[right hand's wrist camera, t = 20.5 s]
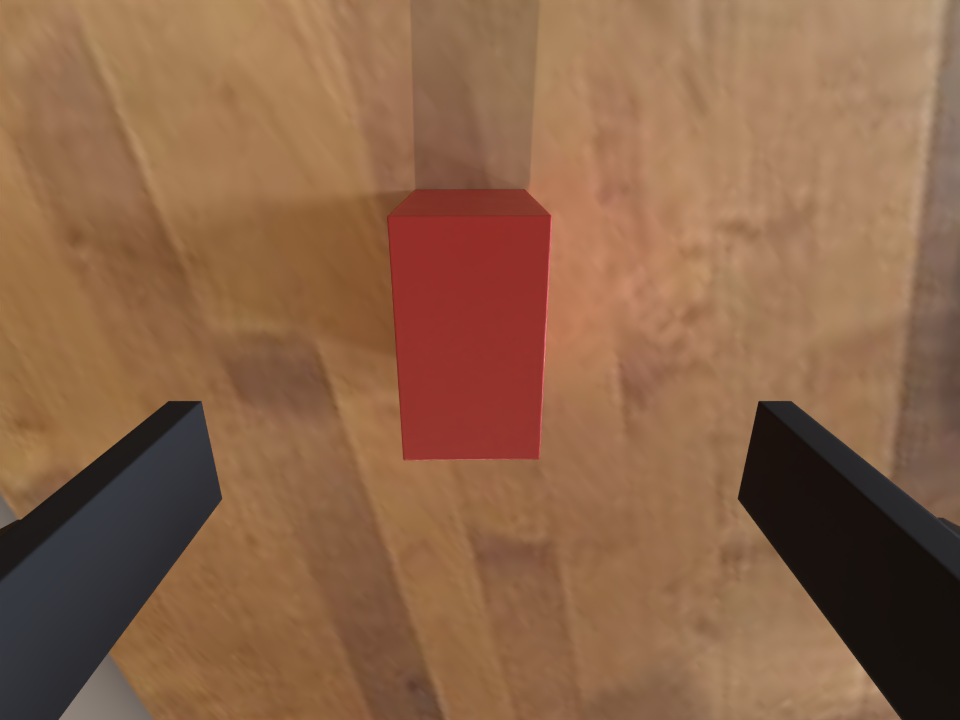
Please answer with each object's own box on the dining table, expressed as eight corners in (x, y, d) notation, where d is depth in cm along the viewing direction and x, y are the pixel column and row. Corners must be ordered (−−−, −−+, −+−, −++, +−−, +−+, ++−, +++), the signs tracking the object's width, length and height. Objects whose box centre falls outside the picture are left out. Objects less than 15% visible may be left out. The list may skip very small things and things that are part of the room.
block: (525, 189, 24) (552, 215, 16) (519, 365, 28) (539, 460, 20) (414, 189, 24) (387, 215, 16) (422, 366, 28) (403, 460, 20)
